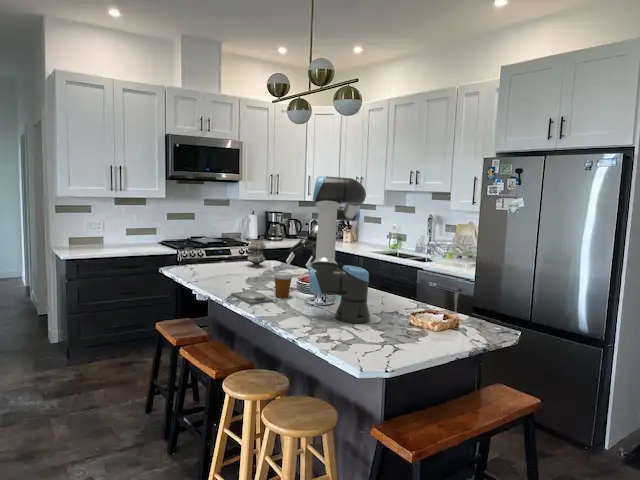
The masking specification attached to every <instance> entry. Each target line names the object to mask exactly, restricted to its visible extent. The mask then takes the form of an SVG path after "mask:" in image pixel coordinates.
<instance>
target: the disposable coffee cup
mask: <svg viewBox="0 0 640 480" xmlns="http://www.w3.org/2000/svg"><path fill="white" fill-rule="evenodd" d="M273 278H274V285H275V286H274V287H275V298H279V299H287V298H289V294H290V289H291V282H292V279H293V276H292V273H290V272H286V271H281V272H275V273H274V275H273Z"/></svg>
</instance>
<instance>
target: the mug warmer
mask: <svg viewBox="0 0 640 480" xmlns="http://www.w3.org/2000/svg"><path fill="white" fill-rule="evenodd" d="M230 295H231V296H232V297H234V298H236V299H238V300H240V301H242V302H244V303H246V304H248V305H250V306H251V305H258V304H260V305H261V304H266V303H267V304H268V303H275V300H274V298H271V297H269V296H267V295H265V294H264V293H262V292H257V291H255V290H249V291H248V290H247V291H238V292H237V291H236V292H235V291H234V292H230Z"/></svg>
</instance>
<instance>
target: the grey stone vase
mask: <svg viewBox="0 0 640 480" xmlns="http://www.w3.org/2000/svg"><path fill="white" fill-rule="evenodd" d="M247 247H248V249H249V255H248V257H247V261H248V262H249V263H252V264H250V265H249V266H248V268H250V269H251V268H252V269H262V268H264V266H263V265H262V263H264V262H265V261H266V257H265V254H264V251H265V249H266V248H267V247H266V244H265V243H264V240H259V239H257V240H256V239H255V240H254V239H251V240H250V243H249V244H248V246H247Z"/></svg>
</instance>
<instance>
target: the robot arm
mask: <svg viewBox="0 0 640 480" xmlns="http://www.w3.org/2000/svg"><path fill="white" fill-rule="evenodd" d="M366 197H367V190H366V189H365V187H364V185H363V184H362V183H361V182H359V181H358V180H356V179H354V178H351V177H342V176H341V177H339V176H338V177H337V176H328V175H327V176H318V177H317V178H316V179H315V183H314V188H313V196H312V201H313V202H315V206H316V208H317V209H318V210H317V212H318V214H317V221H316V223H315V224H314V226H313V227H312V229H311V231H310V232H309V233H308V235H307V236H306V239H305V240H304V239H303V238H301V239H300V240H299V241H298V242H297V243H296V244H295V245H293V246H292V247H290V249H288V251H289V254H288V256H287V259H286V261H285V262H286V264H287V265H288V266H289V265H290V264H291V263H292V261H293V260H294V259H295V256H296V254H298V253H300V252H302V251H304V250H311V251H312V255H311V256H310V258H309V259H308V261H307V263H306V264H305V267H306V268H307V269H308V270H307V271H308V284H309V291H310V292H311V294H317V295H318V294H319V295H332V296H333V295H335V296H340V301H339V304H338V306H337V309H336V312H335V319H336V320H337V321H340V322H343V323H348V324H365V323H368V322H370V318H371V316H370V311H369V306H368V292H369V282H370V280H369V278H370V274H369V271H368V270H366V269H365V268H363V267H359V266H356V265H355V266H354V265H345V264H344V265H343V266H342V268H339V264H338V263H337V262H336V242H337V240H336V239H337V221H344V222H345V221H346V222H359V220H360V219H361V208H360V207H361V205H362V204H364V202H365V200H366ZM342 204H344V206H342Z"/></svg>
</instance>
